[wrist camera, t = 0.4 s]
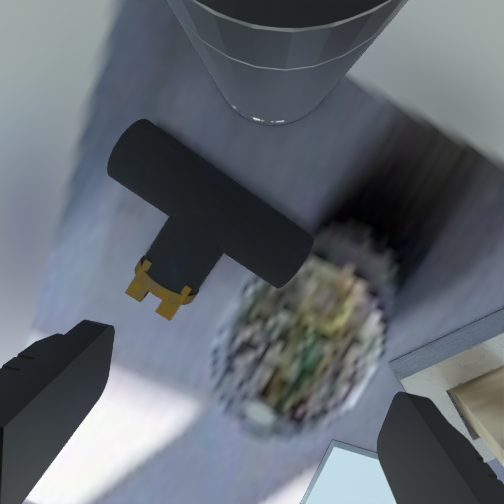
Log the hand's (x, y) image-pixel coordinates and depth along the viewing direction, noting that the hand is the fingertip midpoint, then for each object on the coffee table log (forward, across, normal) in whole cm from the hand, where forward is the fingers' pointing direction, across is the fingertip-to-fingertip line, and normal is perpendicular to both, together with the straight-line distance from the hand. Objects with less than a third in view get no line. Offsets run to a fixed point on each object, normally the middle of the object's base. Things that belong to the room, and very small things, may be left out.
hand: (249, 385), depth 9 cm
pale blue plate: (+19, -18, +25) cm, 36 cm away
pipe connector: (+19, +5, 0) cm, 20 cm away
